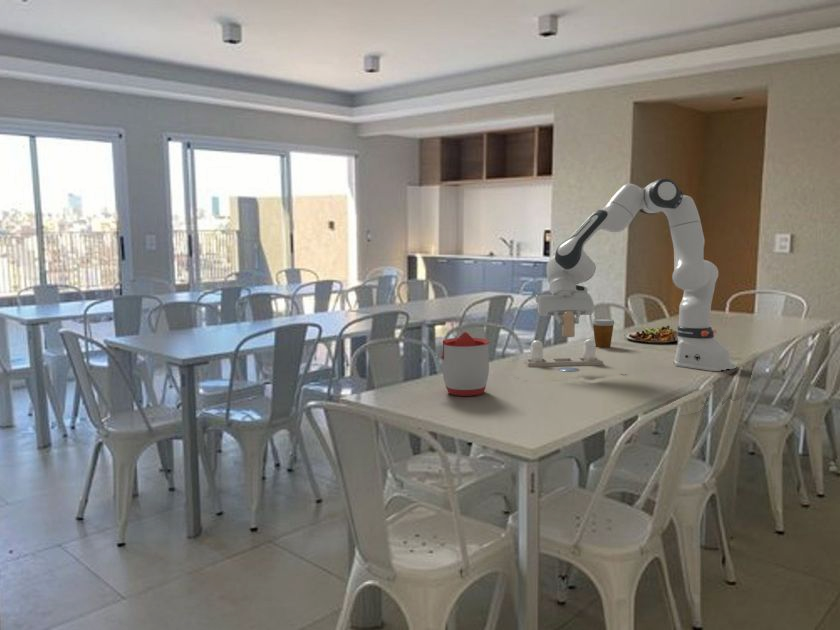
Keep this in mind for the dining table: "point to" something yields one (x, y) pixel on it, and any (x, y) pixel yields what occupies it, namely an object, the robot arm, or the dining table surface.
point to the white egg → (536, 351)
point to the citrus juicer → (465, 365)
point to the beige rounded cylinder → (568, 324)
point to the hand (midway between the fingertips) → (568, 323)
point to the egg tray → (562, 362)
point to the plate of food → (654, 335)
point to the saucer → (568, 369)
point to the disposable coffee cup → (603, 332)
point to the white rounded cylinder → (589, 350)
